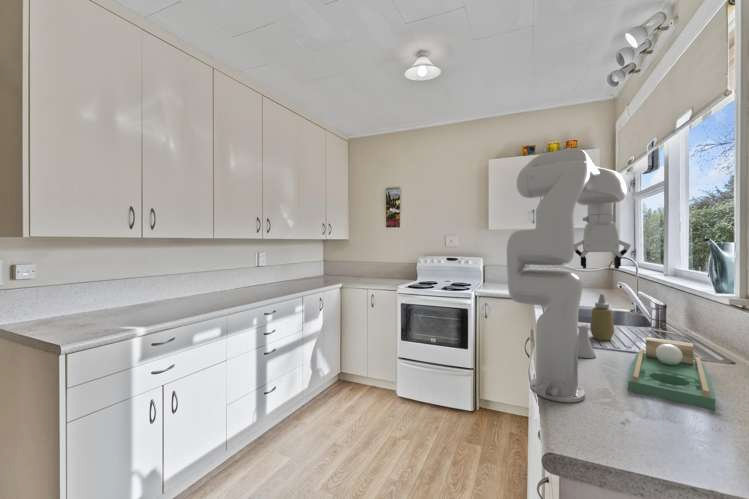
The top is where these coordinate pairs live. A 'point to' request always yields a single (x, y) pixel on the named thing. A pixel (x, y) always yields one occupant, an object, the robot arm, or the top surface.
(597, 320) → the squeeze bottle
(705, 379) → the putting mat
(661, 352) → the ball
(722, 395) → the top surface
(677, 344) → the tan wooden block
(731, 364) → the top surface
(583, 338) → the flask
